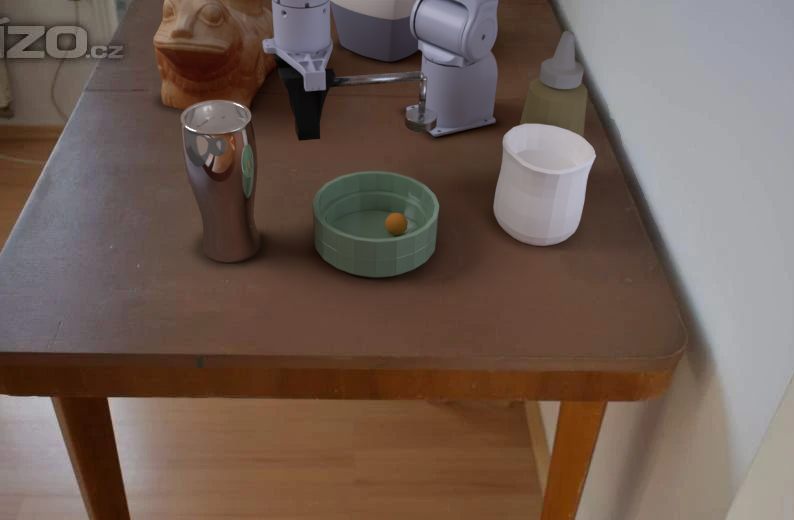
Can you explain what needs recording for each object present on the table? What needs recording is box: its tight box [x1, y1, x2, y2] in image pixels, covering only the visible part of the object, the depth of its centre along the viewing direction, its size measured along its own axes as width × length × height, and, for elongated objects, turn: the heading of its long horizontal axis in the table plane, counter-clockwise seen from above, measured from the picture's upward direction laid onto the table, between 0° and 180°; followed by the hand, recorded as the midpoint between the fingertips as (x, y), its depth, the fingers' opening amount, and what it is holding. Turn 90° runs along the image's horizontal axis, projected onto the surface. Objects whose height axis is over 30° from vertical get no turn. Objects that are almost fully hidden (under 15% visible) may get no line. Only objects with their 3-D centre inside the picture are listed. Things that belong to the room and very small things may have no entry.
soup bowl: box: [312, 170, 440, 278], centre depth 88 cm, size 13×13×5 cm
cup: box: [492, 124, 597, 247], centre depth 91 cm, size 10×10×10 cm
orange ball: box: [385, 213, 408, 235], centre depth 90 cm, size 2×2×2 cm
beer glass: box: [179, 100, 261, 264], centre depth 84 cm, size 7×7×15 cm
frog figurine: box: [152, 0, 278, 111], centre depth 111 cm, size 14×26×15 cm, turn 171°
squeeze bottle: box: [519, 30, 589, 138], centre depth 95 cm, size 8×8×18 cm
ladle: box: [294, 70, 437, 142], centre depth 92 cm, size 16×4×6 cm, turn 105°
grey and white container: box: [330, 0, 420, 63], centre depth 124 cm, size 15×15×11 cm
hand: (305, 123), depth 92 cm, fingers closed on ladle, 2 cm apart
